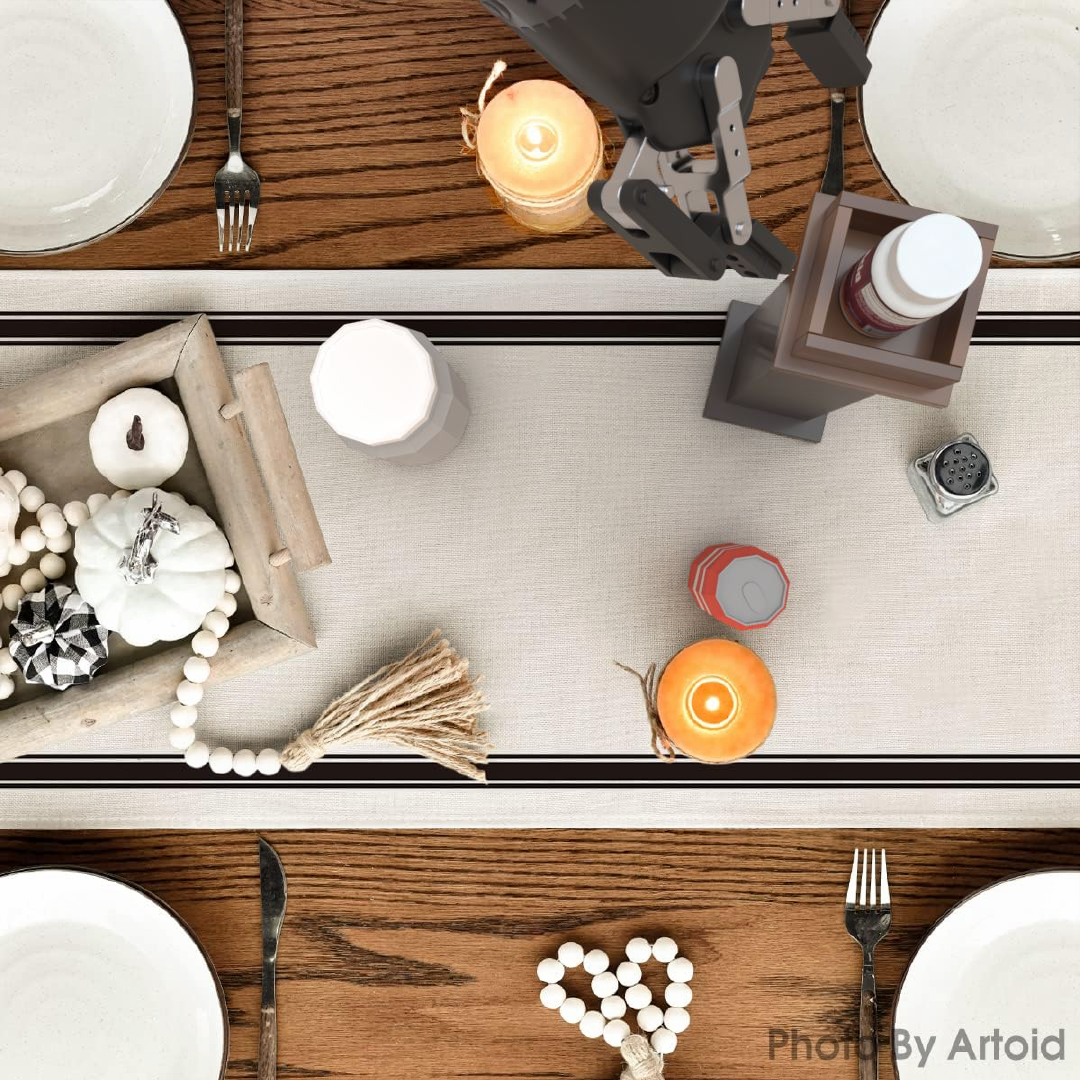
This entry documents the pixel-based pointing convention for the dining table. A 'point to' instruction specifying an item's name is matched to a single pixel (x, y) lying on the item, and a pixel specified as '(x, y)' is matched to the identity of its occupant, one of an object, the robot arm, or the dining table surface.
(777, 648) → the dining table surface
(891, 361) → the socket cup
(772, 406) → the pedestal
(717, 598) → the beverage can
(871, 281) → the pill bottle
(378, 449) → the jar
